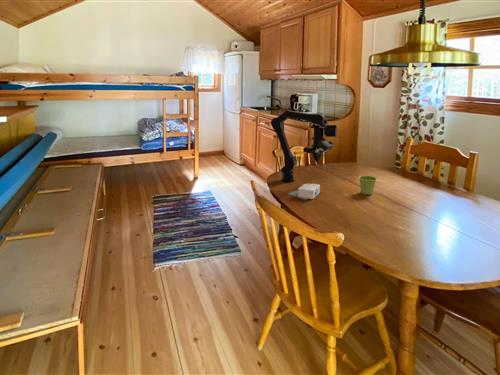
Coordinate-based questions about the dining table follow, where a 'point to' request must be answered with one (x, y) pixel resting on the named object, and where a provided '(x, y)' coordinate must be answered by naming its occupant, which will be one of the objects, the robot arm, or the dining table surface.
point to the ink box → (308, 190)
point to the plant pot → (367, 184)
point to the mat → (297, 194)
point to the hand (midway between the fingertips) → (317, 162)
